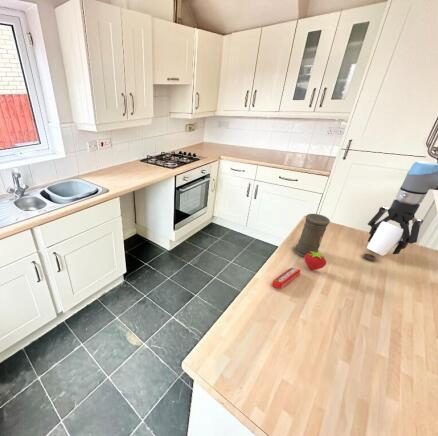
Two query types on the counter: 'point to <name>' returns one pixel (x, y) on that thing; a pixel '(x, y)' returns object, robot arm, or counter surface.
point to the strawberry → (314, 261)
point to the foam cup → (385, 238)
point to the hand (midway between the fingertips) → (382, 247)
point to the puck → (369, 257)
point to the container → (312, 234)
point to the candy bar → (285, 278)
